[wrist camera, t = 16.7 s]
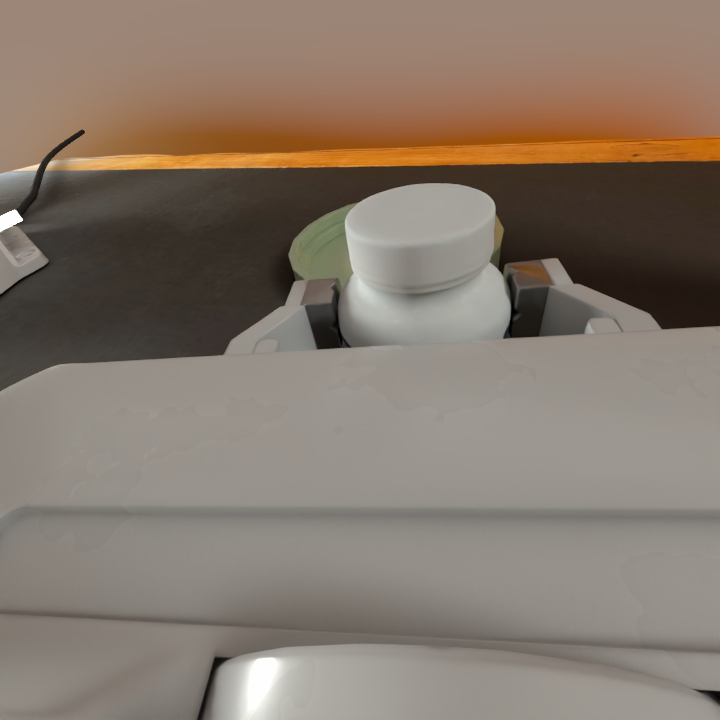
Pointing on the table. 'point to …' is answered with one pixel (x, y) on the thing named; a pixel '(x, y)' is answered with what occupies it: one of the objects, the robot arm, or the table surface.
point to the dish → (341, 248)
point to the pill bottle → (423, 269)
